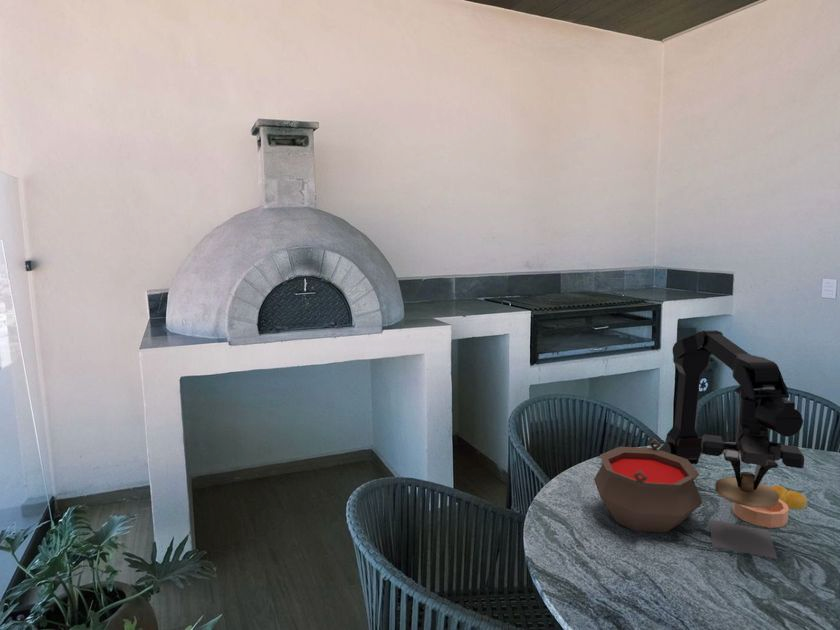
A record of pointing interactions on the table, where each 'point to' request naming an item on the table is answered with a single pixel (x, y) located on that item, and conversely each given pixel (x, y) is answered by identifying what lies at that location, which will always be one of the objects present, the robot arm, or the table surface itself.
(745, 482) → the lid
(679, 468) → the brown soup pot
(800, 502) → the bread roll
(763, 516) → the bowl
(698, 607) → the table surface
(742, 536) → the mat
